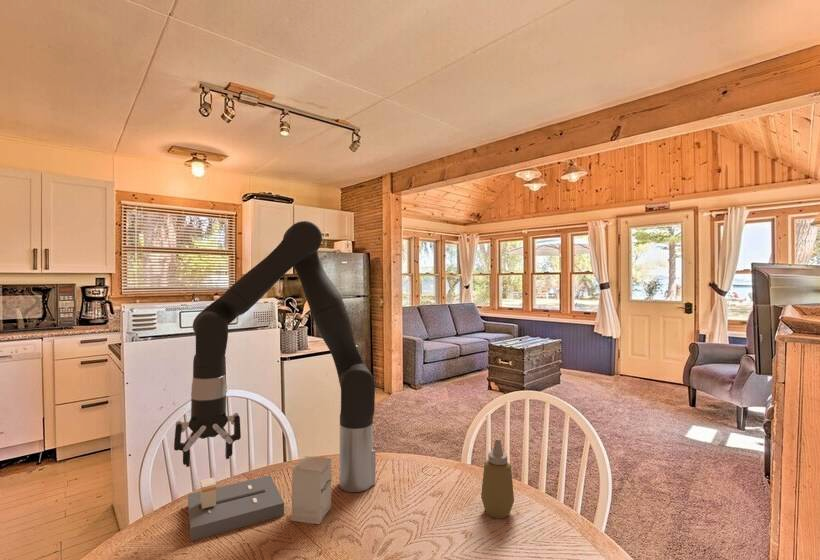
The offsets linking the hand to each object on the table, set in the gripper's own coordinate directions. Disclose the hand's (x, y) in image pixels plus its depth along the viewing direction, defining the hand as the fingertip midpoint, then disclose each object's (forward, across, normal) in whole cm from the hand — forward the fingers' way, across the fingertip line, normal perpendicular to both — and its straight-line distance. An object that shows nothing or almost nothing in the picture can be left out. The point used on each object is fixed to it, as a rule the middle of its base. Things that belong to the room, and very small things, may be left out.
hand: (207, 461), depth 98 cm
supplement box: (+13, -22, +11) cm, 28 cm away
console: (+13, -6, 0) cm, 15 cm away
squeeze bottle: (+13, -62, +33) cm, 72 cm away
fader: (+10, 0, 0) cm, 10 cm away
